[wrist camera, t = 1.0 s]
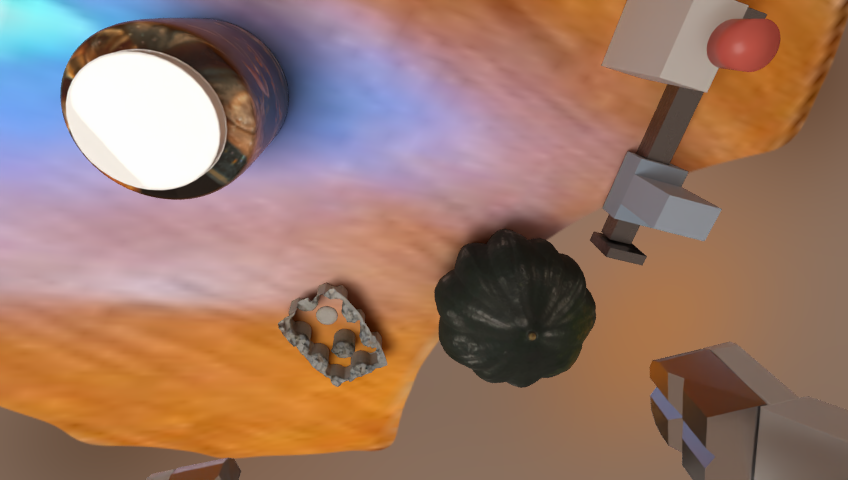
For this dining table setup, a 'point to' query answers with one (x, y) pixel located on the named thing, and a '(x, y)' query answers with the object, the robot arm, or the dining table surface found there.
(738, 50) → the button
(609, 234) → the rail
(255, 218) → the dining table surface
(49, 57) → the dining table surface
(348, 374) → the egg carton
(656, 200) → the block
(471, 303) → the squash
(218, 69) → the jar
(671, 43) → the cabinet
